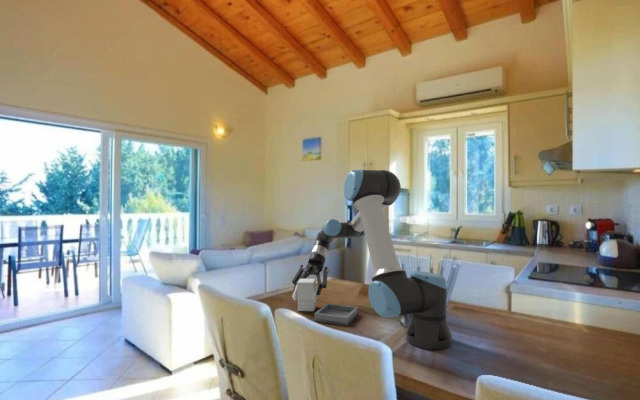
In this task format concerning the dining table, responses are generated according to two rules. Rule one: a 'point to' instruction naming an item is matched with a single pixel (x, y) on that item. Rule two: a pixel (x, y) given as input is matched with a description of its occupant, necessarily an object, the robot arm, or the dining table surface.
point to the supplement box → (306, 294)
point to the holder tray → (336, 314)
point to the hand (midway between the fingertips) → (303, 299)
